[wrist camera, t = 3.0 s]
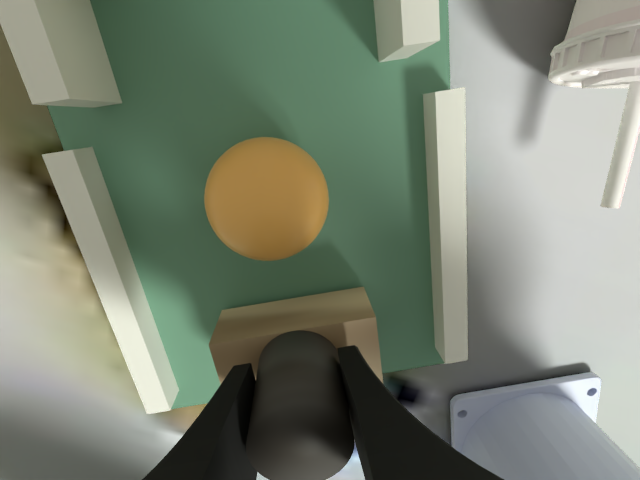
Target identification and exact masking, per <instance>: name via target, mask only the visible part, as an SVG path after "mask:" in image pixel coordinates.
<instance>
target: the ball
mask: <svg viewBox="0 0 640 480" xmlns="http://www.w3.org/2000/svg"><path fill="white" fill-rule="evenodd" d="M204 203H205V210H206V214H207V217H208V220H209V223H210V225H211V227H212V229H213V230H214V232H215V233H216V235H217V236H218V237H219V239H220V240H221V241H222V242H223V243H224V244H225V245H226V246H227V247H229V248H230V249H231V250H233V251H234V252H236V253H238V254H240V255H242V256H245V257H247V258H250V259H254V260H261V261H274V260H281V259H285V258H288V257H290V256H293V255H295V254H297V253H299V252H300V251H302V250H303V249H305V248H306V247H307V246H308V245H309V244H311V243H312V242H313V240H314V239H315V238H316V237H317V235H318V234H319V232H320V231H321V229H322V227H323V225H324V223H325V220H326V217H327V212H328V206H329V195H328V188H327V183H326V180H325V177H324V175H323V173H322V171H321V169H320V167H319V166H318V164H317V163H316V161H315V160H314V159H313V158H312V157H311V156H310V155H309V154H308V153H307V152H306V151H305V150H303V149H302V148H300V147H299V146H297V145H295V144H293V143H291V142H289V141H286V140H283V139H279V138H274V137H257V138H252V139H247V140H245V141H242V142H239V143H238V144H236V145H234V146H232V147H231V148H230V149H228V150H227V151H226V152H225V153H224V154H223V155H222V156H221V157H220V158H219V159H218V160H217V161H216V163H215V164H214V165H213V167H212V169H211V171H210V173H209V176H208V178H207V182H206V186H205V194H204Z"/></svg>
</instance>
